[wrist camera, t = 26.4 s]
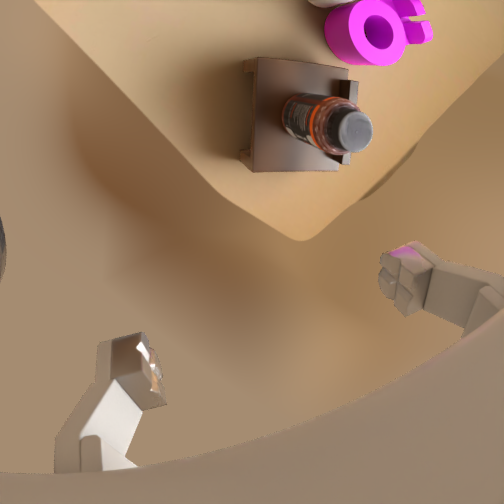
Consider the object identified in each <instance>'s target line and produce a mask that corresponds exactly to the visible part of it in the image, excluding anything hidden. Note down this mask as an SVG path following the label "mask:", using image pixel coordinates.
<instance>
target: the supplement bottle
mask: <svg viewBox="0 0 504 504" xmlns="http://www.w3.org/2000/svg"><path fill="white" fill-rule="evenodd" d="M282 123H283V126H284V128H285V130H286V131H287V132H288V133H289V134H290V135H291V136H292V137H294V138H296V139H298V140H300V141H302V142H305V143H307V144H309V145H312V146H314V147H316V148H318V149H320V150H323V151H325V152H327V153H330V154H333V155H343V154H346V153H349V152H360V151H362V150H364V149H365V148H366V147H367V146H368V145H369V143H370V141H371V139H372V135H373V127H372V122H371V121H370V119H369V117H368V116H367V115H366V114H364V113H363V112H361V111H360V109H359V107H358V106H357V105H356V104H354V103H353V102H352V101H350V100H347V99H344V98H340V97H335V96H328V95H320V94H312V93H300V94H297V95H294V96H293V97H291V98H290V99H289V100H288V101H287V102H286V104H285V105H284V108H283V111H282Z"/></svg>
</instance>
